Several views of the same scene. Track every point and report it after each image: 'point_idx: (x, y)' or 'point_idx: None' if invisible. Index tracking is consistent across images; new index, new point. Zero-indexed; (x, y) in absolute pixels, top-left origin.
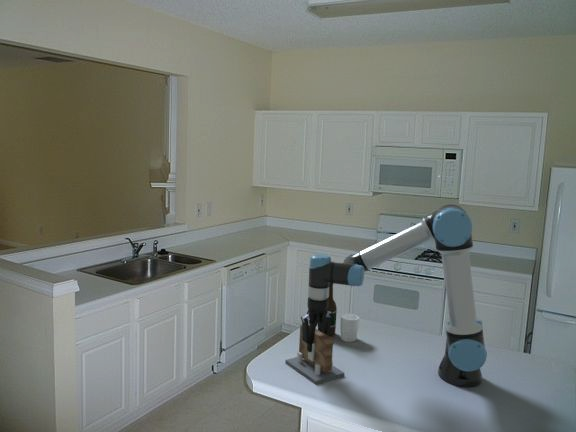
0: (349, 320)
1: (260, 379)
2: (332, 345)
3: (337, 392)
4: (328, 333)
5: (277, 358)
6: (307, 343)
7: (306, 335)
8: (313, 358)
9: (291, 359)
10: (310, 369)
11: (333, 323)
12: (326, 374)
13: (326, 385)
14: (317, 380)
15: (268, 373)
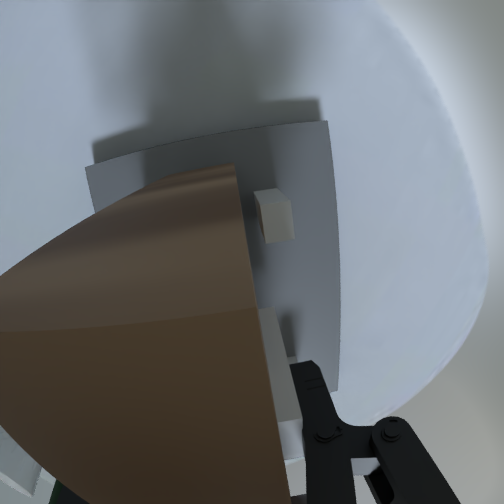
0: (2, 470)
1: (483, 273)
2: (57, 239)
3: (241, 3)
4: (73, 493)
5: (336, 411)
6: (390, 417)
7: (449, 489)
8: (265, 320)
9: None
10: (278, 276)
11: (61, 485)
12: None
13: (261, 86)
14: (312, 124)
15: (442, 311)
